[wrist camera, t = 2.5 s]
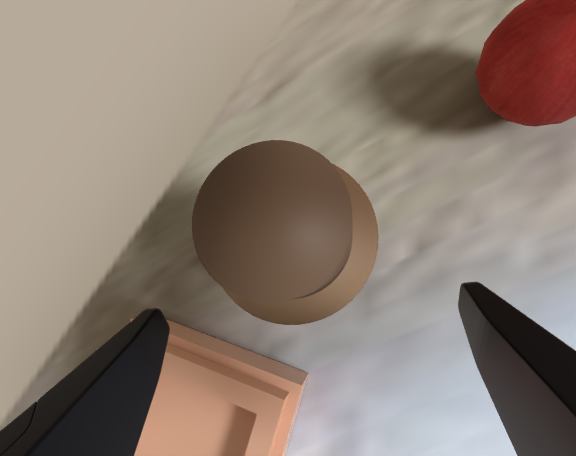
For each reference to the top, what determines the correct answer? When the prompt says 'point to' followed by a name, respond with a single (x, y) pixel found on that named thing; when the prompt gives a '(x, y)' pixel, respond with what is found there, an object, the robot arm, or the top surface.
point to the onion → (532, 64)
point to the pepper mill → (285, 232)
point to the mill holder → (220, 400)
